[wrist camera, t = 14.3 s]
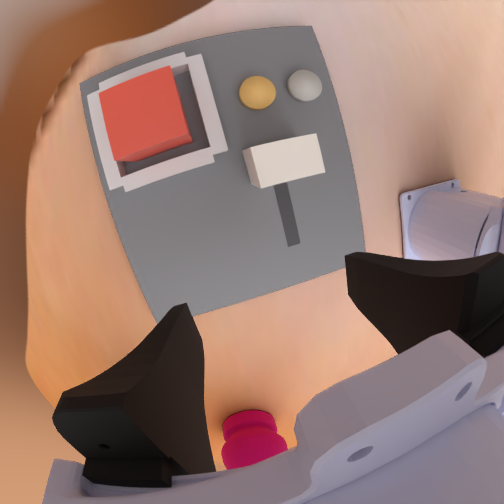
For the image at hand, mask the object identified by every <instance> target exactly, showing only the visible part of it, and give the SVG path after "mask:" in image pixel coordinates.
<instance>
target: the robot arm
mask: <svg viewBox="0 0 504 504" xmlns="http://www.w3.org/2000/svg"><path fill="white" fill-rule="evenodd" d="M408 195H409V198H408ZM400 208H401V219H402V232H403V251H404V258H398V257H391V256H385V255H379V254H373V253H366V252H354V253H351V254H348V255H345V256H344V257H345V266H346V275H347V286H348V295H349V296H350V298H351V299H352V301H353V302H354V304H355V305H356V307H357V308H358V309H359V310H360V311H361V313H362V314H363V315H364V316H365V317H366V318H367V319H368V320H369V321H370V322H371V323H372V324H373V325H374V326H375V327H376V328H377V329H378V330H379V331H380V332H381V333H382V334H383V336H384V337H385V338H386V339H387V340H388V341H389V342H390V344H391V345H392V346H393V348H394V349H395V350H396V352H397V353H398V355H396V356H394V357H392V358H391V359H389V360H387V361H384V362H382V363H380V364H378V365H376V366H374V367H372V368H370V369H368V370H365V371H363V372H361V373H359V374H356V375H354V376H352V377H349V378H347V379H345V380H342V381H340V382H338V383H336V384H334V385H332V386H331V387H329V388H327V389H325V390H324V391H322V392H320V393H318V394H316V395H315V396H314V397H313V398H312V399H311V400H310V401H309V402H308V403H307V404H306V406H305V407H304V408H303V409H302V410H301V411H300V412H299V413H298V414H297V418H296V422H295V426H294V431H295V435H296V439H297V446H295V447H293V448H291V449H289V450H286V451H284V452H282V453H280V454H277V455H275V456H273V457H270V458H268V459H266V460H263V461H261V462H258V463H256V464H253V465H250V466H246V467H241V468H236V469H230V470H224V471H217V472H216V469H215V465H214V461H213V456H212V451H211V446H210V441H209V435H208V430H207V423H206V416H205V408H204V350H203V342H202V338H201V336H200V334H199V331H198V329H197V327H196V324H195V322H194V319H193V317H192V315H191V312H190V310H189V307H188V305H187V303H183V304H179V305H176V306H173V307H172V308H171V309H170V310H169V311H168V312H167V313H166V315H165V316H164V317H163V318H162V319H161V321H160V322H159V323H158V324H157V325H156V327H155V328H154V329H153V330H152V331H151V332H150V333H149V334H148V335H147V337H146V338H145V339H144V340H143V341H142V342H141V343H140V344H139V345H138V346H137V347H136V348H135V349H134V350H133V351H131V352H130V353H129V354H128V355H127V356H126V357H124V358H123V359H122V360H120V361H119V362H118V363H116V364H115V365H113V366H112V367H111V368H109V369H108V370H106V371H105V372H103V373H101V374H100V375H98V376H96V377H94V378H93V379H91V380H89V381H87V382H85V383H83V384H81V385H78V386H76V387H74V388H71V389H69V390H67V391H64V392H63V393H62V395H61V398H60V400H59V402H58V404H57V407H56V409H55V411H54V414H53V417H52V419H53V423H54V425H55V427H56V429H57V431H58V432H59V433H60V434H61V435H62V437H63V438H64V439H65V440H67V442H69V443H70V444H71V445H72V446H73V447H74V448H75V449H76V450H77V451H79V452H80V453H81V454H82V455H83V456H84V457H85V458H86V461H85V465H83V464H81V463H79V462H75V461H68V460H62V459H54V461H53V464H52V468H51V471H50V475H49V478H48V482H47V486H46V490H45V494H44V498H43V503H42V504H504V197H503V198H502V199H501V198H499V197H496V196H492V195H488V194H484V193H479V192H475V191H470V190H466V189H461V188H460V181H459V180H458V179H453V180H449V181H445V182H441V183H438V184H434V185H430V186H426V187H423V188H419V189H415V190H412V191H408V192H404V193H402V194H401V195H400Z"/></svg>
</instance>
